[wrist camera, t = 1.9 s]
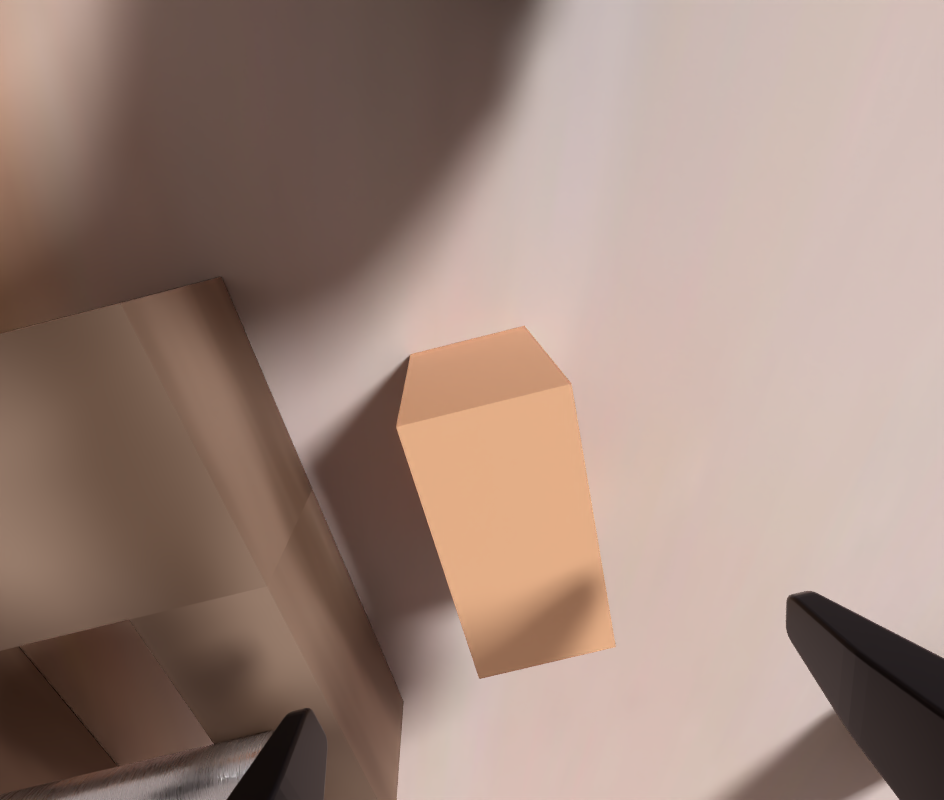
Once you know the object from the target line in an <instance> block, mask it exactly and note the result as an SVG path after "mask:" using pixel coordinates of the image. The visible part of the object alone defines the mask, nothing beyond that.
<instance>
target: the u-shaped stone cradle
mask: <svg viewBox="0 0 944 800" xmlns="http://www.w3.org/2000/svg"><path fill="white" fill-rule="evenodd" d="M126 620H130V622H131V623H132V625H133V626H134V628H135V629H136V631H137V632H138V634H139V635H140V637H141V638H142V639H143V641H144V642H145V644H146V645H147V647H148V648H149V650H150V651H151V653H152V654H153V656H154V657H155V658H156V660H157V661H158V663H159V664H160V666H161V667H162V669H163V670H164V672H165V673H166V674H167V676H168V677H169V679H170V680H171V682H172V683H173V685H174V686H175V688H176V689H177V691H178V692H179V693H180V695H181V696H182V698H183V699H184V701H185V702H186V704H187V705H188V707H189V708H190V710H191V711H192V712H193V714H194V715H195V717H196V718H197V720H198V721H199V723H200V724H201V726H202V727H203V729H204V730H205V731H206V733H207V734H208V736H209V737H210V739H211V740H212V742H213V743H214V744H217V743H221V742H226V741H230V740H234V739H239V738H243V737H247V736H251V735H256V734H260V733H264V732H268V731H273V730H274V731H275V729H276V728H277V727H278V725H279V724H280V722H281V721H282V719H283V718H284V717H285V716H286V715H287V714H288V713H289V712H291V711H295V710H299V709H304V708H310V709H312V710H313V712H314V714H315V715H316V717H317V719H318V721H319V723H320V725H321V726H322V728H323V730H324V732H325V734H326V737H327V745H328V749H327V763H326V777H325V791H324V800H396V799H397V785H398V771H399V757H400V743H401V729H402V715H403V700H402V697H401V695H400V693H399V690H398V688H397V686H396V683H395V681H394V679H393V676H392V674H391V672H390V669H389V667H388V665H387V662H386V660H385V658H384V655H383V653H382V651H381V648H380V646H379V644H378V641H377V639H376V637H375V634H374V632H373V630H372V627H371V625H370V623H369V620H368V618H367V616H366V613H365V611H364V609H363V606H362V604H361V602H360V599H359V597H358V595H357V592H356V590H355V588H354V585H353V583H352V581H351V578H350V576H349V574H348V571H347V569H346V567H345V564H344V562H343V560H342V557H341V555H340V553H339V550H338V548H337V546H336V543H335V541H334V539H333V536H332V534H331V532H330V529H329V527H328V525H327V522H326V520H325V518H324V515H323V513H322V511H321V508H320V506H319V504H318V501H317V499H316V497H315V494H314V492H313V490H312V487H311V485H310V483H309V480H308V478H307V476H306V473H305V471H304V469H303V466H302V464H301V462H300V459H299V457H298V455H297V452H296V450H295V448H294V445H293V443H292V441H291V438H290V436H289V434H288V431H287V429H286V427H285V424H284V422H283V420H282V417H281V415H280V413H279V410H278V408H277V406H276V403H275V401H274V399H273V396H272V394H271V392H270V389H269V387H268V385H267V382H266V380H265V378H264V375H263V373H262V371H261V368H260V366H259V364H258V361H257V359H256V357H255V354H254V352H253V350H252V347H251V345H250V343H249V340H248V338H247V336H246V333H245V331H244V329H243V326H242V324H241V322H240V319H239V317H238V315H237V312H236V310H235V308H234V305H233V303H232V300H231V298H230V296H229V293H228V291H227V289H226V286H225V284H224V282H223V279H222V277H218V278H214V279H210V280H206V281H202V282H199V283H195V284H191V285H187V286H183V287H179V288H175V289H171V290H167V291H163V292H160V293H156V294H152V295H148V296H144V297H140V298H136V299H132V300H128V301H125V302H121V303H117V304H113V305H109V306H105V307H101V308H97V309H93V310H89V311H86V312H82V313H78V314H74V315H70V316H66V317H62V318H58V319H54V320H51V321H47V322H43V323H39V324H35V325H31V326H27V327H23V328H19V329H15V330H12V331H8V332H4V333H0V794H3V793H7V792H11V791H16V790H20V789H24V788H29V787H33V786H37V785H41V784H46V783H50V782H54V781H58V780H63V779H67V778H71V777H76V776H80V775H84V774H88V773H93V772H97V771H101V770H106V769H110V768H114V767H117V765H116V764H115V763H114V762H113V761H112V759H111V758H110V757H109V756H108V754H107V753H106V752H105V751H104V750H103V748H102V747H101V746H100V745H99V744H98V742H97V741H96V740H95V739H94V738H93V736H92V735H91V734H90V733H89V732H88V730H87V729H86V728H85V727H84V725H83V724H82V723H81V722H80V721H79V719H78V718H77V717H76V716H75V715H74V713H73V712H72V711H71V710H70V709H69V707H68V706H67V705H66V704H65V702H64V701H63V700H62V699H61V698H60V696H59V695H58V694H57V693H56V692H55V690H54V689H53V688H52V687H51V686H50V684H49V683H48V682H47V681H46V679H45V678H44V677H43V676H42V675H41V673H40V672H39V671H38V670H37V669H36V667H35V666H34V665H33V664H32V663H31V661H30V660H29V659H28V658H27V657H26V655H25V654H24V653H23V652H22V650H21V649H20V648H19V647H18V646H22V645H26V644H30V643H34V642H39V641H43V640H47V639H51V638H55V637H59V636H63V635H68V634H72V633H76V632H80V631H84V630H88V629H93V628H97V627H101V626H105V625H109V624H113V623H117V622H122V621H126Z"/></svg>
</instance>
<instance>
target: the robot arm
mask: <svg viewBox="0 0 944 800" xmlns="http://www.w3.org/2000/svg"><path fill="white" fill-rule="evenodd" d="M786 630H787V633H788V636H789V638H790V640H791V642H792V644H793V645H794V647H795V648H796V650H797V651H798V653H799V655H800V656H801V658H802V659H803V661H804V663H805V664H806V666H807V667H808V669H809V671H810V672H811V674H812V675H813V677H814V678H815V680H816V682H817V683H818V685H819V686H820V688H821V690H822V691H823V693H824V694H825V696H826V698H827V699H828V701H829V702H830V704H831V705H832V707H833V709H834V710H835V712H836V713H837V715H838V717H839V718H840V720H841V721H842V723H843V724H844V726H845V727H846V729H847V730H848V732H849V733H850V734H851V736H852V737H853V738H854V740H855V741H856V743H857V744H858V745H859V747H860V748H861V749H862V751H863V752H864V753H865V755H866V756H867V757H868V759H869V760H870V761H871V763H872V764H873V765H874V767H875V768H876V769H877V770H878V772H879V773H880V774H881V776H882V777H883V778H884V780H885V781H886V782H887V784H888V785H889V786H890V788H891V789H892V790H893V792H894V793H895V794H896V796H897V797H898V798H899V800H944V658H942V657H940V656H938V655H936V654H934V653H932V652H930V651H929V650H927V649H925V648H923V647H921V646H919V645H917V644H915V643H913V642H911V641H909V640H907V639H905V638H903V637H901V636H899V635H897V634H895V633H894V632H892V631H890V630H888V629H886V628H884V627H882V626H880V625H878V624H876V623H874V622H872V621H870V620H868V619H866V618H864V617H862V616H861V615H859V614H857V613H855V612H853V611H851V610H849V609H847V608H845V607H843V606H841V605H839V604H837V603H835V602H833V601H831V600H829V599H827V598H826V597H824V596H822V595H820V594H818V593H815V592H812V591H805V592H801V593H796V594H792V595H790V596H789V597H788V598H787V604H786ZM327 749H328V745H327V737H326V734H325V732H324V730H323V728H322V726H321V725H320V723H319V721H318V719H317V717H316V715H315V714H314V712H313V710H312V709H310V708H304V709H299V710H295V711H291V712H289V713H288V714H287V715H286V716H285V717H284V718H283V719H282V721H281V722H280V724H279V725H278V727H277V728H276V729H275V731H274V732H273V734H272V735H271V737H270V738H269V739H268V741H267V742H266V744H265V745H264V747H263V748H262V749H261V751H260V752H259V754H258V755H257V757H256V758H255V759H254V761H253V762H252V764H251V765H250V767H249V768H248V769H247V771H246V772H245V774H244V775H243V776H242V778H241V779H240V781H239V782H238V784H237V785H236V786H235V788H234V789H233V791H232V792H231V794H230V795H229V796H228V798H227V799H226V800H324V791H325V777H326V763H327Z"/></svg>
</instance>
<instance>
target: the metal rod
mask: <svg viewBox="0 0 944 800" xmlns="http://www.w3.org/2000/svg"><path fill="white" fill-rule="evenodd" d="M273 732H274V730H273V731H268V732H264V733H260V734H256V735H251V736H247V737H243V738H239V739H234V740H230V741H226V742H221V743H217V744H212V745H208V746H204V747H200V748H195V749H191V750H187V751H182V752H178V753H174V754H170V755H165V756H161V757H157V758H153V759H148V760H144V761H140V762H135V763H131V764H127V765H123V766H118V767H114V768H110V769H106V770H101V771H97V772H93V773H88V774H84V775H80V776H76V777H71V778H67V779H63V780H58V781H54V782H50V783H46V784H41V785H37V786H33V787H29V788H24V789H20V790H16V791H11V792H7V793H3V794H0V800H226V799H227V798H228V796H229V795H230V794H231V792H232V791H233V789H234V788H235V786H236V785H237V784H238V782H239V781H240V779H241V778H242V776H243V775H244V774H245V772H246V771H247V769H248V768H249V767H250V765H251V764H252V762H253V761H254V759H255V758H256V757H257V755H258V754H259V752H260V751H261V749H262V748H263V747H264V745H265V744H266V742H267V741H268V739H269V738H270V737H271V735H272V734H273Z"/></svg>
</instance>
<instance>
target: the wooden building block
mask: <svg viewBox="0 0 944 800" xmlns="http://www.w3.org/2000/svg"><path fill="white" fill-rule="evenodd" d="M396 428H397V431H398V434H399V437H400V440H401V443H402V446H403V449H404V452H405V456H406V459H407V462H408V465H409V468H410V471H411V474H412V477H413V480H414V483H415V486H416V489H417V492H418V495H419V498H420V501H421V504H422V507H423V510H424V513H425V516H426V519H427V522H428V525H429V528H430V531H431V534H432V537H433V540H434V543H435V546H436V549H437V552H438V555H439V558H440V561H441V564H442V567H443V571H444V574H445V577H446V580H447V583H448V586H449V589H450V592H451V595H452V598H453V601H454V604H455V607H456V610H457V613H458V616H459V619H460V622H461V625H462V628H463V631H464V634H465V637H466V640H467V643H468V646H469V649H470V652H471V655H472V658H473V661H474V664H475V667H476V670H477V673H478V676H479V679H481V678H485V677H490V676H494V675H498V674H502V673H507V672H511V671H515V670H519V669H524V668H528V667H532V666H537V665H541V664H545V663H549V662H554V661H558V660H562V659H566V658H571V657H575V656H579V655H584V654H588V653H592V652H596V651H601V650H605V649H609V648H613V647H616V646H615V640H614V634H613V628H612V622H611V616H610V610H609V604H608V598H607V592H606V586H605V581H604V575H603V569H602V563H601V557H600V551H599V545H598V539H597V533H596V527H595V521H594V515H593V509H592V503H591V497H590V491H589V486H588V480H587V474H586V468H585V462H584V456H583V450H582V444H581V438H580V432H579V426H578V420H577V414H576V408H575V402H574V396H573V390H572V385H571V383H570V381H569V380H568V379H567V378H566V376H565V375H564V374H563V373H562V372H561V370H560V369H559V368H558V367H557V365H556V364H555V363H554V362H553V360H552V359H551V358H550V357H549V355H548V354H547V353H546V352H545V351H544V349H543V348H542V347H541V346H540V344H539V343H538V342H537V341H536V339H535V338H534V337H533V336H532V335H531V333H530V332H529V331H528V330H527V328H526V327H525V326H522V327H518V328H514V329H510V330H506V331H502V332H498V333H494V334H490V335H486V336H482V337H478V338H474V339H470V340H466V341H462V342H458V343H454V344H450V345H446V346H442V347H438V348H434V349H430V350H426V351H422V352H418V353H414V354H411V355H410V360H409V365H408V370H407V375H406V380H405V385H404V390H403V395H402V400H401V405H400V410H399V415H398V420H397V425H396Z"/></svg>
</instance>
